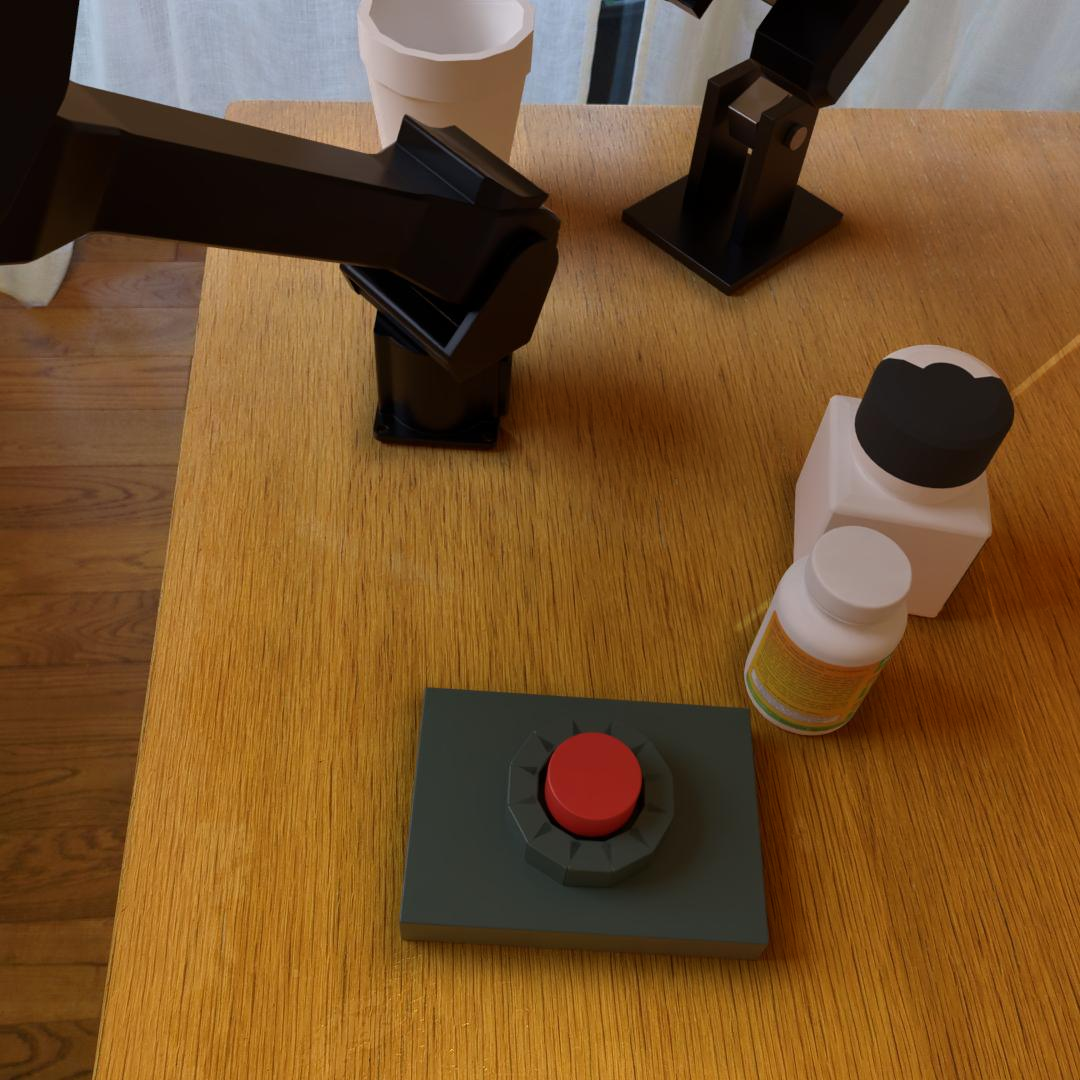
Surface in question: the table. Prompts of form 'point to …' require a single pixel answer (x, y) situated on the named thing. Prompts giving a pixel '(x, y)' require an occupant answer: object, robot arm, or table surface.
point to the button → (592, 784)
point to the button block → (574, 860)
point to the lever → (753, 109)
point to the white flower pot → (448, 65)
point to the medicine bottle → (910, 465)
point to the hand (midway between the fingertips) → (760, 36)
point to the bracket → (738, 192)
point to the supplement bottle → (829, 631)
